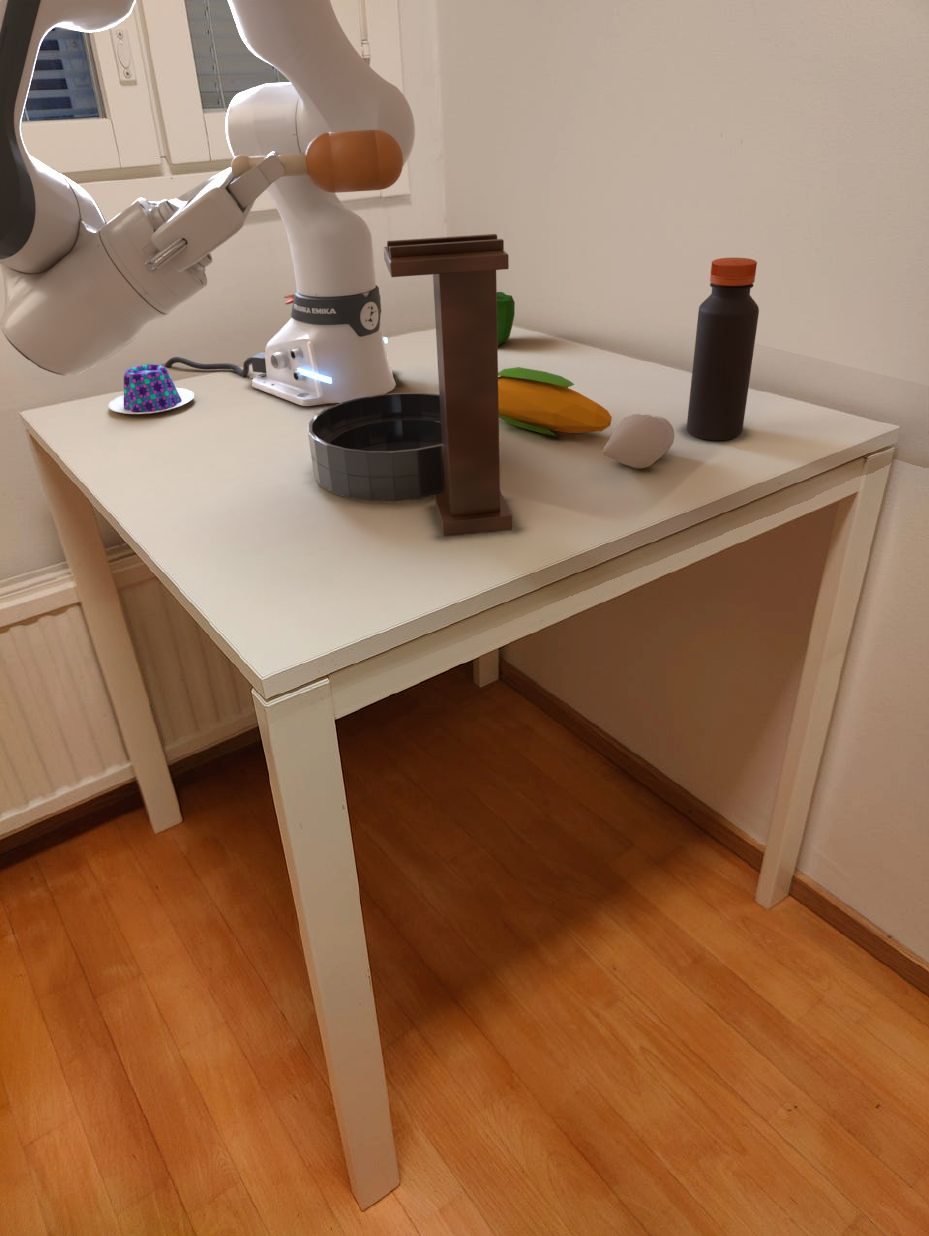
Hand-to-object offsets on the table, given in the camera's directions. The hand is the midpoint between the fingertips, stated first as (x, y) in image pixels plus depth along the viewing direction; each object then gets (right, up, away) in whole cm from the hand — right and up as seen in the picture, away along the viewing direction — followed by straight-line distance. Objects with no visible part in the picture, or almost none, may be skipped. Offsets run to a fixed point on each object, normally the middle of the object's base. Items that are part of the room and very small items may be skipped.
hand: (281, 160), depth 77 cm
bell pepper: (+20, +6, +71) cm, 74 cm away
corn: (+27, -17, +34) cm, 47 cm away
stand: (+16, -31, +13) cm, 36 cm away
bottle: (+47, -18, +31) cm, 59 cm away
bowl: (+9, -23, +25) cm, 35 cm away
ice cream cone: (+36, -24, +22) cm, 48 cm away
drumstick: (+3, -2, +2) cm, 4 cm away
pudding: (-29, -10, +49) cm, 58 cm away
